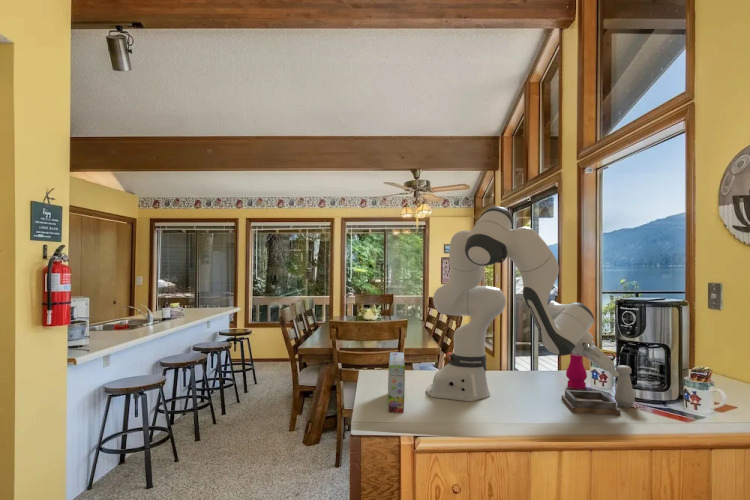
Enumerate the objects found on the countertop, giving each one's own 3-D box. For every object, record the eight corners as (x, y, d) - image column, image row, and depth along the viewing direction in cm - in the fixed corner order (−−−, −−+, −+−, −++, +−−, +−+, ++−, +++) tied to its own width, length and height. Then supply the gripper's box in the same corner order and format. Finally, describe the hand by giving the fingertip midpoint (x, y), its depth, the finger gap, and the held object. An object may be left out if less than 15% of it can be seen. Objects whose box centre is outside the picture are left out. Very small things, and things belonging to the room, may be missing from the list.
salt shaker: (637, 409, 137) (636, 368, 138) (618, 407, 139) (617, 367, 139) (630, 403, 143) (629, 364, 144) (612, 402, 144) (611, 363, 145)
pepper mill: (563, 386, 163) (562, 333, 164) (571, 382, 168) (570, 331, 169) (582, 390, 158) (581, 336, 159) (590, 386, 163) (589, 334, 163)
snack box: (405, 413, 134) (405, 365, 134) (387, 413, 134) (387, 364, 135) (404, 393, 155) (404, 351, 155) (388, 392, 155) (388, 351, 156)
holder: (572, 412, 134) (572, 401, 134) (561, 399, 147) (561, 389, 147) (620, 415, 132) (620, 403, 132) (605, 401, 145) (604, 391, 145)
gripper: (596, 339, 133) (631, 372, 131) (577, 330, 153) (607, 358, 151) (581, 353, 133) (616, 386, 131) (564, 342, 153) (594, 371, 151)
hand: (611, 371), depth 141 cm, fingers open, 8 cm apart
